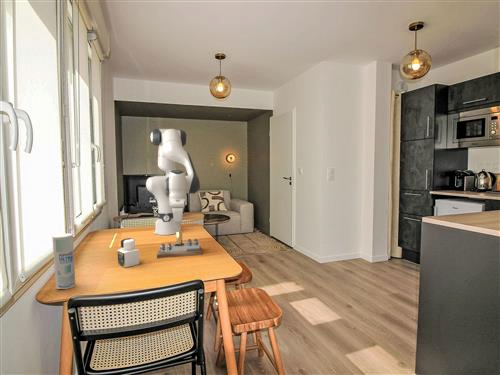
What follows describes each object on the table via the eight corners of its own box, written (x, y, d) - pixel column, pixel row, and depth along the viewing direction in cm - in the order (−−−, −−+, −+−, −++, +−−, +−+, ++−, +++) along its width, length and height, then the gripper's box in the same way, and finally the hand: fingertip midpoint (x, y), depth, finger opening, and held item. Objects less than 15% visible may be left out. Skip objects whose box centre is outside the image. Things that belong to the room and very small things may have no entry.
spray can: (58, 291, 107) (55, 238, 106) (53, 287, 112) (50, 235, 110) (78, 286, 112) (75, 234, 111) (72, 281, 117) (69, 232, 115)
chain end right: (173, 248, 156) (172, 239, 155) (198, 247, 159) (198, 238, 158) (172, 252, 149) (172, 243, 149) (199, 250, 152) (199, 241, 151)
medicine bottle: (117, 264, 136) (116, 239, 135) (132, 260, 142) (131, 236, 141) (124, 268, 132) (123, 242, 131) (139, 264, 137) (138, 239, 136)
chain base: (158, 251, 156) (158, 248, 156) (200, 248, 161) (200, 246, 161) (156, 258, 145) (156, 255, 145) (201, 254, 150) (201, 251, 150)
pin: (176, 249, 154) (176, 231, 154) (182, 249, 155) (182, 230, 154) (176, 251, 151) (176, 232, 151) (182, 250, 152) (182, 231, 151)
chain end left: (160, 249, 154) (160, 243, 154) (186, 248, 157) (186, 241, 157) (159, 253, 148) (159, 246, 147) (186, 251, 150) (186, 245, 150)
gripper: (172, 199, 161) (173, 224, 162) (170, 204, 141) (171, 232, 142) (184, 198, 162) (185, 223, 163) (184, 204, 142) (184, 232, 143)
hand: (178, 227), depth 152 cm, fingers open, 8 cm apart
